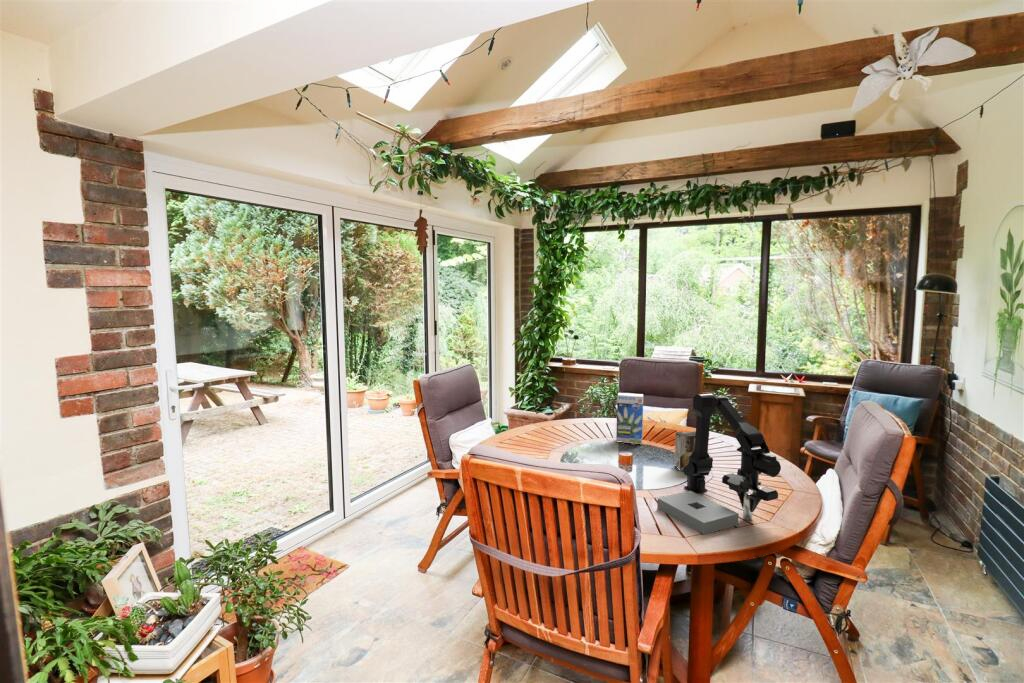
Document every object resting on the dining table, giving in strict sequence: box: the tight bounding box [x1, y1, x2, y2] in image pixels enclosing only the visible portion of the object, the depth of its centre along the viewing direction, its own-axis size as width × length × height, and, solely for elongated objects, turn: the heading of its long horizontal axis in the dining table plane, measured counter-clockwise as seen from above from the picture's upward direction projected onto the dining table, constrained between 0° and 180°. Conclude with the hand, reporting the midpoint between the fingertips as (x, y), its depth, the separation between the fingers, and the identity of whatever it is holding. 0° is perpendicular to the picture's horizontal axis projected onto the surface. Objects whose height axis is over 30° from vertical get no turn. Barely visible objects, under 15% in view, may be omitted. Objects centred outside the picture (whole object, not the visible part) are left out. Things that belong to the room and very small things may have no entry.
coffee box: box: [674, 431, 696, 470], centre depth 225 cm, size 9×6×16 cm
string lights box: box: [615, 392, 644, 444], centre depth 264 cm, size 13×8×26 cm, turn 73°
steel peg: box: [742, 491, 754, 521], centre depth 175 cm, size 3×3×9 cm
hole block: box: [656, 490, 740, 535], centre depth 177 cm, size 22×16×4 cm
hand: (747, 510), depth 175 cm, fingers closed on steel peg, 3 cm apart
